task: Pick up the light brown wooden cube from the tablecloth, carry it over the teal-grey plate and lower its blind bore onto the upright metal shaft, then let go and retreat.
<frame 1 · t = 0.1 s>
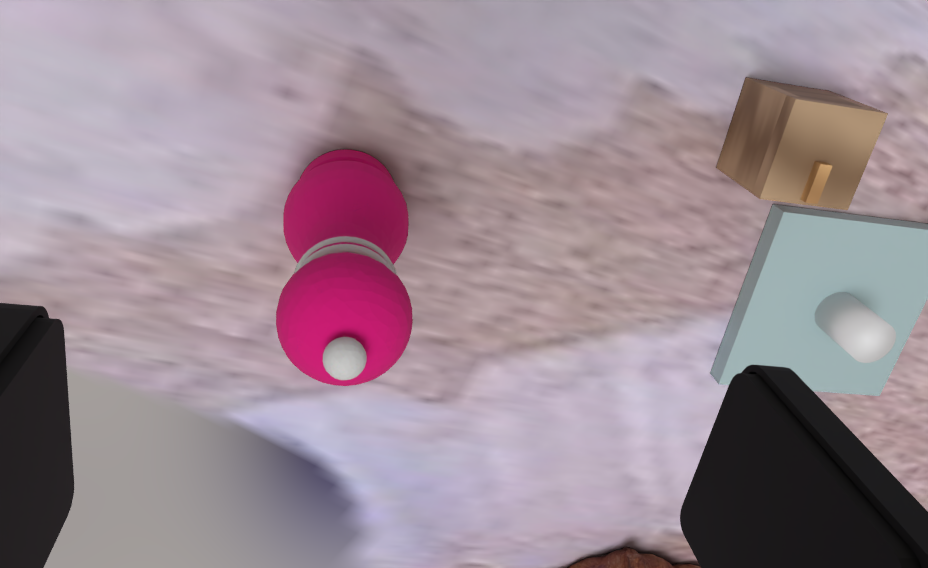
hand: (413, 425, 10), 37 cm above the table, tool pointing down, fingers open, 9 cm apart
pepper mill: (347, 195, 47), on the table
shaft base: (824, 301, 56), on the table
light brown wooden cube: (771, 129, 49), on the table
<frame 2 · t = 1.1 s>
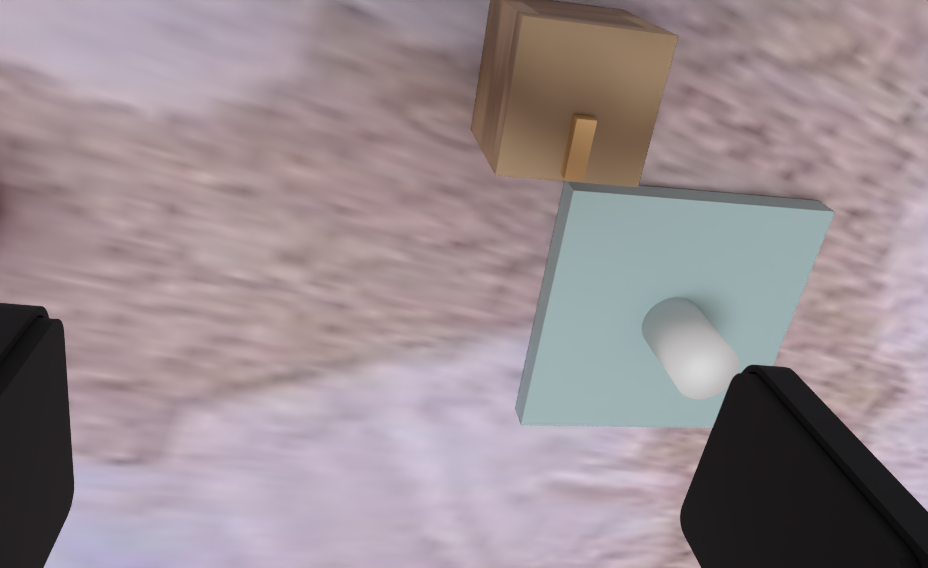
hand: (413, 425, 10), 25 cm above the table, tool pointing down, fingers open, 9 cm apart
shaft base: (660, 309, 41), on the table
light brown wooden cube: (545, 71, 34), on the table
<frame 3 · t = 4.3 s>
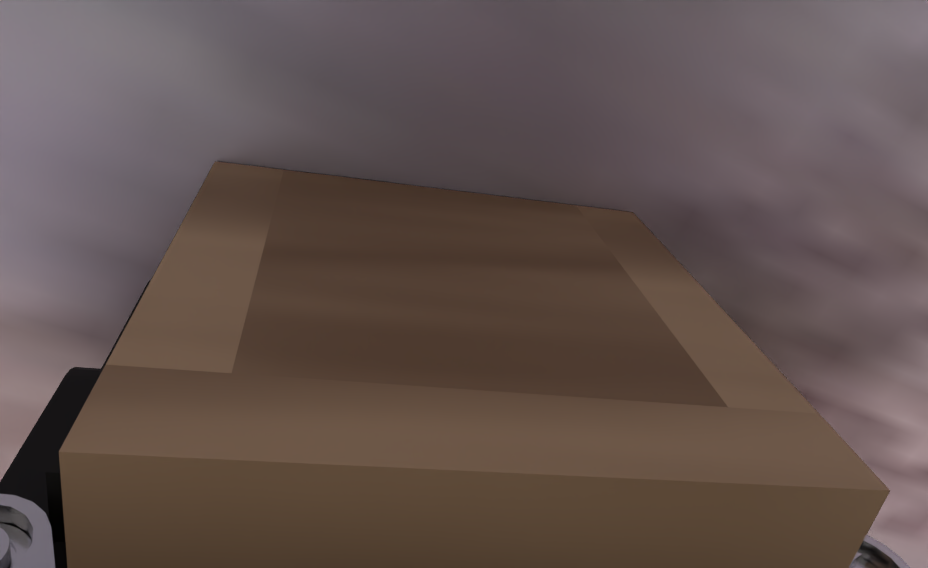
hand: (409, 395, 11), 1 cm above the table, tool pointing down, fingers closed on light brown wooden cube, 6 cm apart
light brown wooden cube: (406, 366, 12), on the table, touching gripper
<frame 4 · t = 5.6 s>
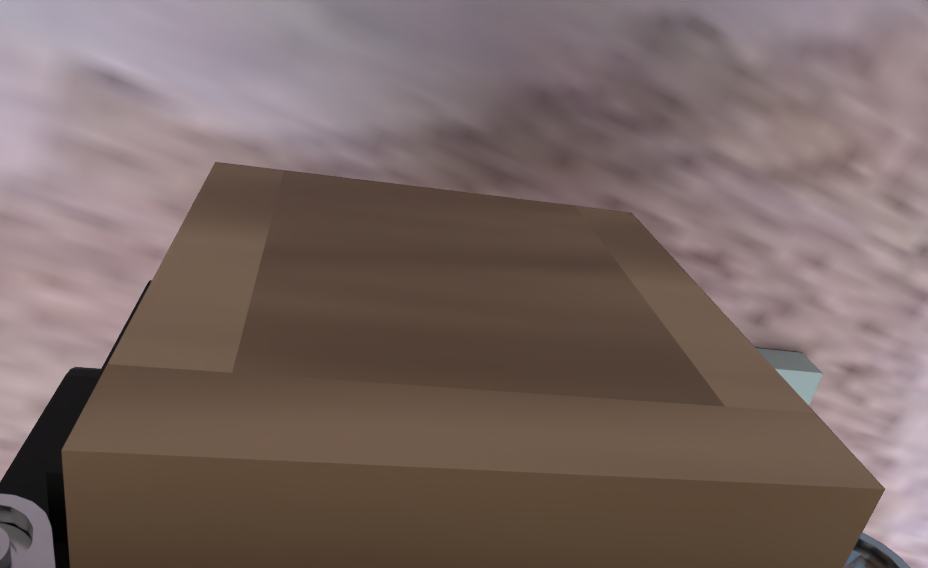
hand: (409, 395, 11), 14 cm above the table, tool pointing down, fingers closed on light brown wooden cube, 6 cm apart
shaft base: (584, 486, 30), on the table
light brown wooden cube: (405, 366, 12), point 13 cm above the table, touching gripper
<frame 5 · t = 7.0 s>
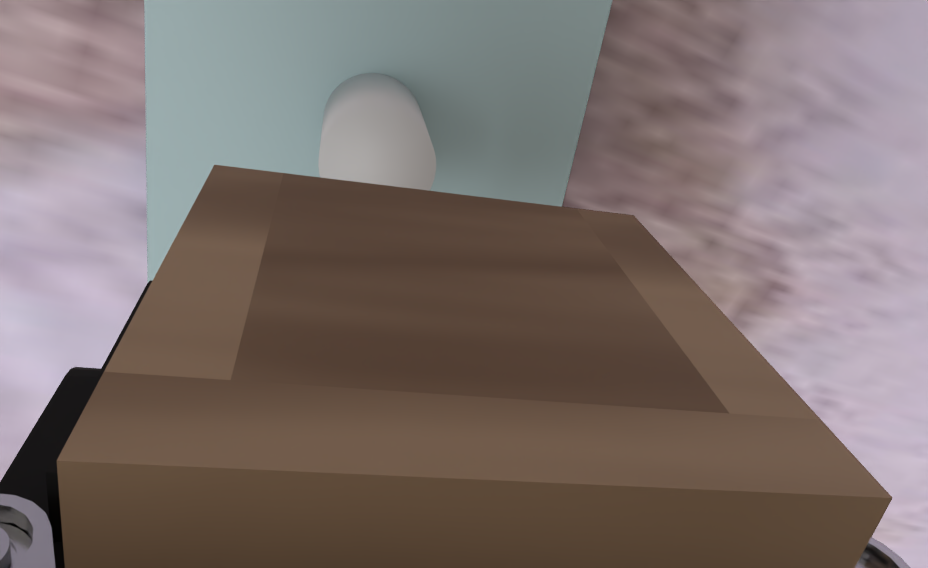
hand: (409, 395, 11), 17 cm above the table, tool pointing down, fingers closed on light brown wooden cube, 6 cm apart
shaft base: (371, 111, 26), on the table
light brown wooden cube: (406, 369, 12), point 16 cm above the table, touching gripper
when the fingers open (4 cm above the table, at t = 9.7 s): light brown wooden cube drops 2 cm, resting on shaft base.
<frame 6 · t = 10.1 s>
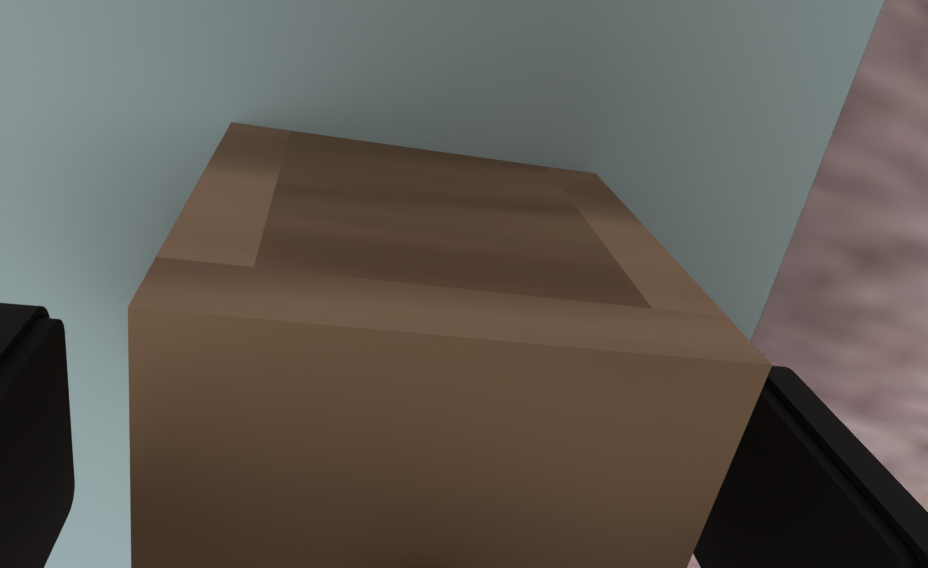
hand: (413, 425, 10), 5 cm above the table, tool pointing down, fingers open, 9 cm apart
shaft base: (395, 275, 15), on the table
light brown wooden cube: (396, 310, 13), point 1 cm above the table, touching shaft base
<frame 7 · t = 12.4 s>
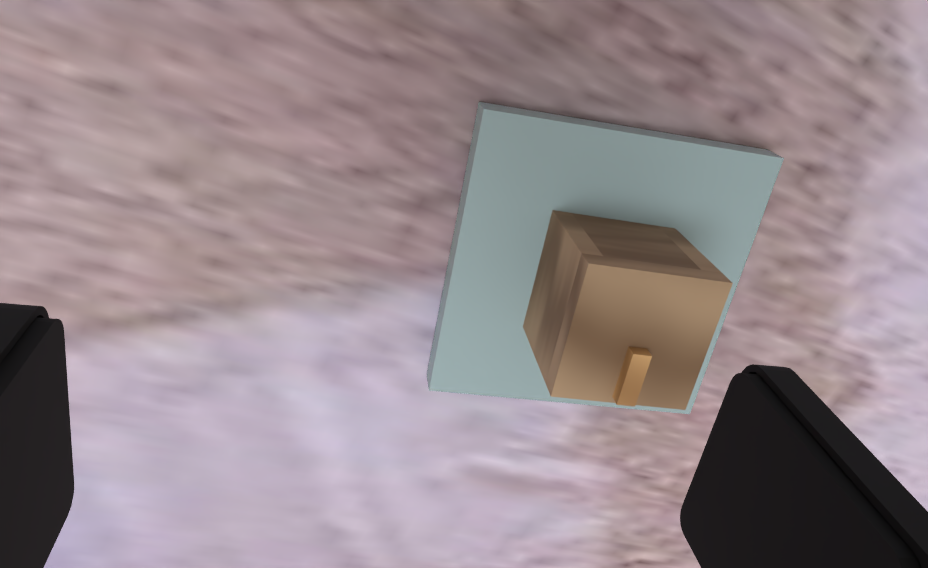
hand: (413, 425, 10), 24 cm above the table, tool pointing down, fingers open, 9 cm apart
shaft base: (590, 266, 37), on the table
light brown wooden cube: (597, 278, 35), point 1 cm above the table, touching shaft base
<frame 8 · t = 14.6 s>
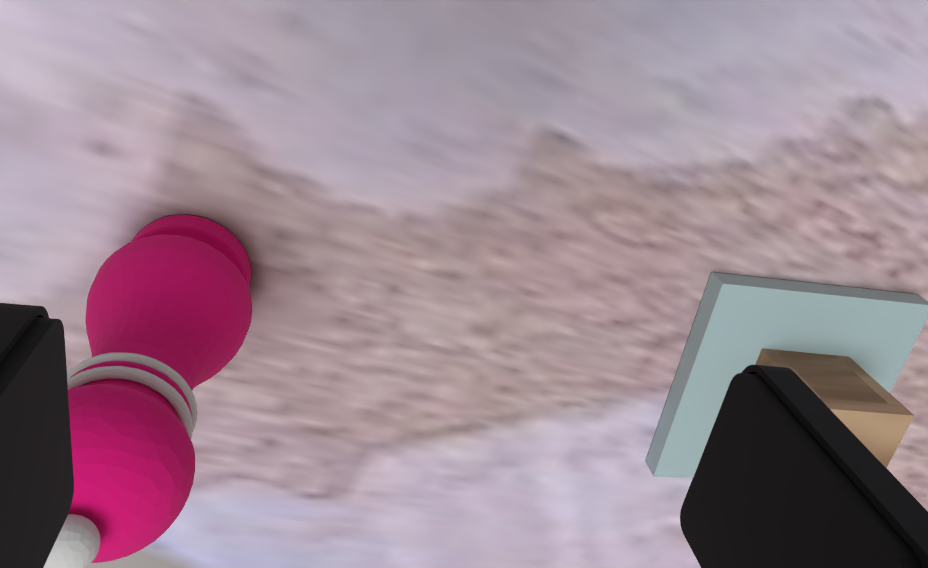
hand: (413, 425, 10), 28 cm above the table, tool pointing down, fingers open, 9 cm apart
pepper mill: (191, 267, 39), on the table
shaft base: (776, 380, 48), on the table
light brown wooden cube: (788, 393, 46), point 1 cm above the table, touching shaft base
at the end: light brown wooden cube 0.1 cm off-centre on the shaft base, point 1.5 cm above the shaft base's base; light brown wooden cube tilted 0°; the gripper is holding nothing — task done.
